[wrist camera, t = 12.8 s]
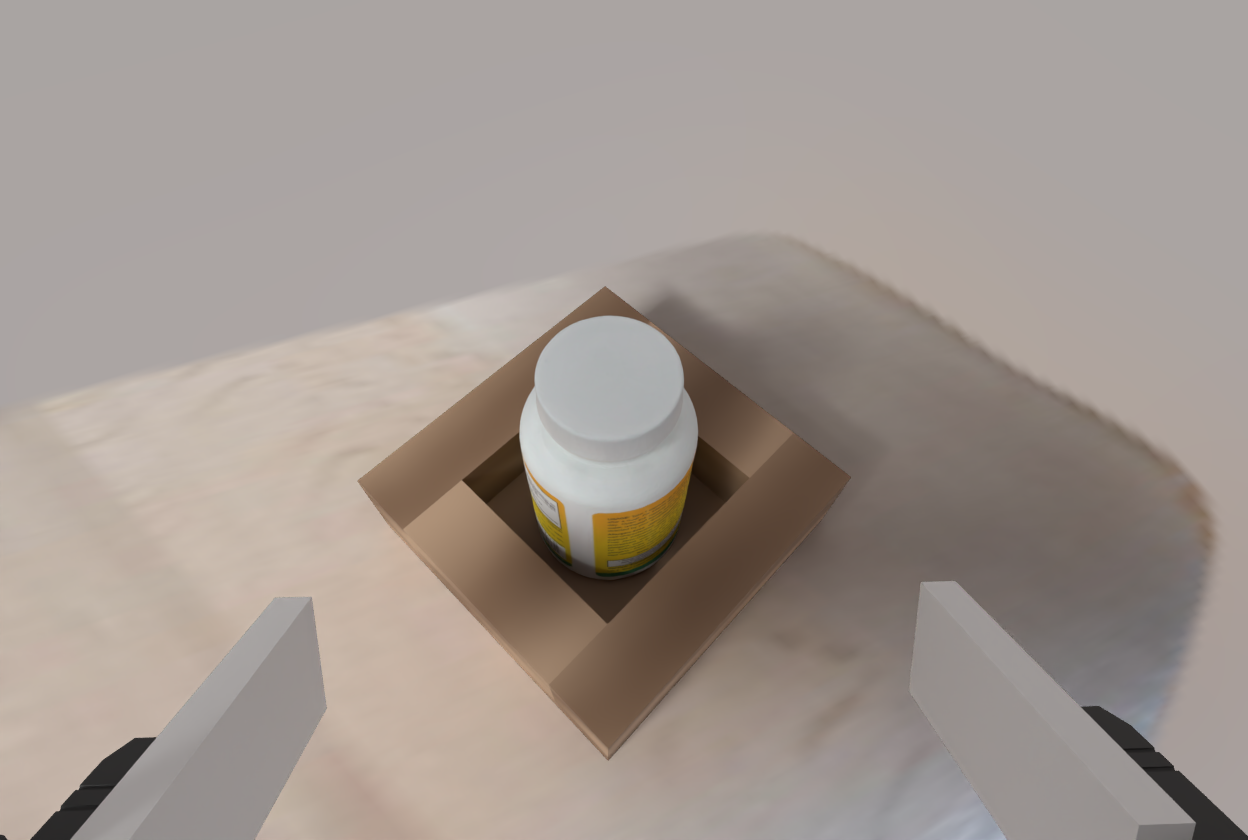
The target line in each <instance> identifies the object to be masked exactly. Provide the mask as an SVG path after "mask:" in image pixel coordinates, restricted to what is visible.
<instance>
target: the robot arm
mask: <svg viewBox="0 0 1248 840" xmlns="http://www.w3.org/2000/svg"><path fill="white" fill-rule="evenodd" d="M909 692H910V694H911V695H912V697H913V698H914V700H915V701H916V703H917V704H918V706H919V707H920V709H921V710H922V712H923V713H924V715H925V716H926V718H927V719H928V721H929V722H930V724H931V725H932V727H933V728H934V730H935V731H936V733H937V734H938V736H939V737H940V739H941V740H942V742H943V744H944V745H945V747H946V748H947V750H948V751H949V753H950V754H951V756H952V757H953V759H954V760H955V762H956V763H957V765H958V766H959V768H960V769H961V771H962V772H963V774H964V775H965V777H966V778H967V780H968V781H969V783H970V784H971V786H972V787H973V789H974V790H975V792H976V793H977V795H978V796H979V798H980V799H981V801H982V802H983V804H984V805H985V807H986V808H987V810H988V811H989V813H990V814H991V816H992V817H993V819H994V820H995V822H996V823H997V825H998V826H999V828H1000V829H1001V831H1002V832H1003V834H1004V835H1005V837H1006V838H1007V840H1248V836H1247V835H1246V834H1245V833H1244V832H1243V831H1242V830H1241V829H1240V828H1239V827H1238V826H1236V825H1235V824H1234V823H1233V822H1232V821H1231V820H1230V819H1229V818H1228V817H1227V816H1226V815H1225V814H1224V813H1223V812H1222V811H1221V810H1220V809H1218V807H1216V806H1215V805H1214V804H1213V803H1212V802H1211V801H1210V800H1209V799H1208V798H1207V797H1206V796H1205V795H1204V794H1203V793H1202V792H1201V791H1200V790H1198V789H1197V788H1196V787H1195V786H1194V785H1193V784H1192V783H1191V782H1190V781H1189V780H1188V779H1187V778H1186V777H1185V776H1184V775H1183V774H1182V773H1180V772H1179V771H1175V770H1174V766H1173V765H1172V764H1171V763H1170V762H1169V761H1168V760H1167V759H1166V758H1165V757H1164V756H1163V755H1162V754H1160V753H1159V752H1155V750H1154V747H1153V746H1152V745H1151V744H1150V743H1149V742H1148V741H1147V740H1146V739H1145V738H1144V737H1142V736H1141V735H1140V734H1139V733H1138V732H1137V731H1136V730H1135V729H1134V728H1133V727H1132V726H1131V725H1129V724H1128V723H1126V722H1124V721H1123V720H1121V719H1119V718H1118V717H1116V716H1114V715H1113V714H1111V713H1109V712H1108V711H1106V710H1104V709H1103V708H1101V707H1099V706H1089V707H1080V706H1079V705H1078V704H1077V703H1076V702H1075V701H1074V700H1073V699H1072V698H1071V697H1070V696H1069V695H1068V694H1067V693H1066V692H1065V691H1064V690H1063V689H1062V688H1061V687H1060V686H1059V685H1058V684H1057V683H1056V682H1055V681H1054V680H1053V679H1052V678H1051V677H1050V676H1049V675H1048V674H1047V673H1046V672H1045V671H1044V670H1043V669H1042V668H1041V667H1040V666H1039V665H1038V664H1037V663H1036V662H1035V661H1034V660H1033V659H1032V658H1031V657H1030V656H1029V655H1028V654H1027V652H1026V651H1025V650H1024V649H1023V648H1022V647H1021V646H1020V645H1019V644H1018V643H1017V642H1016V641H1015V640H1014V639H1013V638H1012V637H1011V636H1010V635H1009V634H1008V633H1007V632H1006V631H1005V630H1004V629H1003V628H1002V627H1001V626H1000V625H999V624H998V623H997V622H996V621H995V620H994V619H993V618H992V617H991V616H990V615H989V614H988V613H987V612H986V611H985V610H984V609H983V608H982V607H981V606H980V605H979V604H978V603H977V602H976V601H975V600H974V599H973V598H972V597H971V596H970V595H969V594H968V593H967V592H966V591H965V590H964V589H963V588H962V587H961V586H960V585H959V584H958V583H957V582H956V581H931V582H921V585H920V594H919V603H918V612H917V621H916V629H915V638H914V647H913V656H912V665H911V674H910V683H909ZM326 709H327V707H326V699H325V692H324V685H323V677H322V670H321V662H320V655H319V647H318V640H317V633H316V625H315V618H314V610H313V603H312V597H283V598H274V600H273V601H272V602H271V603H270V604H269V605H268V607H267V608H266V609H265V610H264V611H263V613H262V614H261V615H260V616H259V617H258V618H257V620H256V621H255V622H254V623H253V624H252V626H251V627H250V628H249V629H248V630H247V631H246V633H245V634H244V635H243V636H242V637H241V639H240V640H239V641H238V642H237V643H236V644H235V646H234V647H233V648H232V649H231V650H230V652H229V653H228V654H227V655H226V656H225V657H224V659H223V660H222V661H221V662H220V663H219V665H218V666H217V667H216V668H215V669H214V670H213V672H212V673H211V674H210V675H209V676H208V678H207V679H206V680H205V681H204V682H203V683H202V685H201V686H200V687H199V688H198V689H197V691H196V692H195V693H194V694H193V695H192V696H191V698H190V699H189V700H188V701H187V702H186V704H185V705H184V706H183V707H182V708H181V709H180V711H179V712H178V713H177V714H176V715H175V717H174V718H173V719H172V720H171V721H170V722H169V724H168V725H167V726H166V727H165V728H164V730H163V731H162V732H161V733H160V734H159V735H158V737H153V738H134V739H133V740H131V741H130V742H128V743H127V744H126V745H124V746H123V747H121V748H120V749H118V750H117V751H115V752H114V753H112V754H111V755H110V756H108V757H107V758H105V759H104V760H102V762H101V763H100V764H99V765H98V766H97V767H96V768H95V769H94V770H93V771H92V773H91V774H90V775H89V776H88V777H87V778H86V779H85V780H84V781H83V782H82V784H81V785H80V788H79V790H75V791H74V792H73V793H72V794H71V796H70V797H69V798H68V799H67V800H66V801H65V802H64V803H63V804H62V805H61V809H60V811H57V812H55V813H54V814H53V815H52V816H51V818H50V819H49V820H48V821H47V822H46V823H45V824H44V825H43V826H42V827H41V829H40V830H39V831H38V832H37V833H36V834H35V835H34V836H33V837H32V838H31V840H255V838H256V836H257V834H258V832H259V831H260V829H261V827H262V825H263V823H264V822H265V820H266V818H267V816H268V814H269V812H270V811H271V809H272V807H273V805H274V803H275V801H276V800H277V798H278V796H279V794H280V792H281V791H282V789H283V787H284V785H285V783H286V781H287V780H288V778H289V776H290V774H291V772H292V771H293V769H294V767H295V765H296V763H297V761H298V760H299V758H300V756H301V754H302V752H303V751H304V749H305V747H306V745H307V743H308V741H309V740H310V738H311V736H312V734H313V732H314V730H315V729H316V727H317V725H318V723H319V721H320V720H321V718H322V716H323V714H324V712H325V710H326ZM0 840H7V839H6V837H5V836H4V835H0Z"/></svg>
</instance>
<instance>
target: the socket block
mask: <svg viewBox="0 0 1248 840" xmlns="http://www.w3.org/2000/svg"><path fill="white" fill-rule="evenodd" d="M598 316H622V317H628V318H631V319H635V320H638V321H641V322H643V323H646V324H648V325H649V326H651V327H653V328H654V329H656V330H658V331H659V332H660V333H661V334H663V335H664V336H665V337H666V338H667V339H668V340H669V341H670V343H671V344H672V345H673V346H674V348H675V350H676V352H677V353H678V355H679V357H680V360H681V364H682V367H683V374H684V389H685V390H686V392H687V393H688V395H689V397H690V399H691V401H692V403H693V406H694V409H695V413H696V417H697V424H698V440H697V448H696V453H695V457H694V461H693V465H692V470H691V475H690V480H689V484H688V489H687V494H686V499H685V503H684V508H683V512H682V516H681V520H680V525H679V529H678V532H677V534H676V537H675V539H674V541H673V543H672V545H671V546H670V548H669V550H668V551H667V552H666V553H665V555H664V556H663V557H662V558H661V559H660V560H659V561H657V562H656V563H655V564H654V565H652V566H651V567H649V568H647V569H646V570H644V571H642V572H640V573H637V574H634V575H631V576H629V577H625V578H620V579H616V580H602V579H594V578H589V577H586V576H583V575H580V574H578V573H576V572H574V571H572V570H570V569H569V568H567V567H566V566H564V565H563V564H562V563H560V562H559V561H558V560H557V559H556V558H555V557H554V556H553V554H552V553H551V552H550V551H549V549H548V548H547V546H546V544H545V542H544V541H543V538H542V536H541V533H540V530H539V527H538V524H537V519H536V514H535V510H534V505H533V500H532V496H531V491H530V487H529V483H528V479H527V475H526V470H525V466H524V461H523V457H522V451H521V445H520V437H519V436H520V420H521V415H522V411H523V408H524V405H525V403H526V401H527V398H528V396H529V395H530V393H531V391H532V390H533V388H534V387H535V381H534V380H535V369H536V365H537V362H538V359H539V357H540V355H541V353H542V351H543V349H544V348H545V346H546V345H547V344H548V343H549V342H550V340H551V339H552V338H553V337H554V336H555V335H557V334H558V333H559V332H560V331H561V330H563V329H565V328H566V327H568V326H569V325H571V324H573V323H576V322H578V321H581V320H585V319H589V318H593V317H598ZM850 478H851V477H850V476H849V475H848V474H846V473H845V472H844V471H842V470H841V469H840V468H839V467H837V466H836V465H835V464H833V463H832V462H831V461H830V460H828V459H827V458H826V457H824V456H823V455H822V454H821V453H819V452H818V451H817V450H815V449H814V448H813V447H812V446H810V445H809V444H808V443H806V442H805V441H804V440H803V439H801V438H800V437H799V436H797V435H796V434H795V433H794V432H792V431H791V430H790V429H788V428H787V427H786V426H785V425H783V424H782V423H781V422H779V421H778V420H777V419H775V418H774V417H773V416H772V415H770V414H769V413H768V412H766V411H765V410H764V409H763V408H761V407H760V406H759V405H757V404H756V403H755V402H754V401H752V400H751V399H750V398H748V397H747V396H746V395H745V394H743V393H742V392H741V391H739V390H738V389H737V388H736V387H734V386H733V385H732V384H730V383H729V382H728V381H727V380H725V379H724V378H723V377H721V376H720V375H719V374H718V373H716V372H715V371H714V370H712V369H711V368H710V367H708V366H707V365H706V364H705V363H703V362H702V361H701V360H699V359H698V358H697V357H696V356H694V355H693V354H692V353H690V352H689V351H688V350H687V349H685V348H684V347H683V346H681V345H680V344H679V343H678V342H676V341H675V340H674V339H672V338H671V337H670V336H669V335H667V334H666V333H665V332H663V331H662V330H661V329H660V328H658V327H657V326H656V325H654V324H653V323H652V322H651V321H649V320H648V319H647V318H645V317H644V316H643V315H641V314H640V313H639V312H638V311H636V310H635V309H634V308H632V307H631V306H630V305H629V304H627V303H626V302H625V301H623V300H622V299H621V298H620V297H618V296H617V295H616V294H614V293H613V292H612V291H611V290H609V289H608V288H607V287H604V288H602V289H601V290H600V291H599V292H597V293H596V294H595V295H593V296H592V297H591V298H590V299H588V300H587V301H586V302H584V303H583V304H582V305H581V306H579V307H578V308H577V309H576V310H574V311H573V312H572V313H570V314H569V315H568V316H567V317H565V318H564V319H563V320H562V321H560V322H559V323H558V324H556V325H555V326H554V327H553V328H551V329H550V330H549V331H548V332H546V333H545V334H544V335H542V336H541V337H540V338H539V339H537V340H536V341H535V342H534V343H532V344H531V345H530V346H528V347H527V348H526V349H525V350H523V351H522V352H521V353H520V354H518V355H517V356H516V357H514V358H513V359H512V360H511V361H509V362H508V363H507V364H506V365H504V366H503V367H502V368H500V369H499V370H498V371H497V372H495V373H494V374H493V375H492V376H490V377H489V378H488V379H486V380H485V381H484V382H483V383H481V384H480V385H479V386H478V387H476V388H475V389H474V390H472V391H471V392H470V393H469V394H467V395H466V396H465V397H464V398H462V399H461V400H460V401H458V402H457V403H456V404H455V405H453V406H452V407H451V408H449V409H448V410H447V411H446V412H444V413H443V414H442V415H441V416H439V417H438V418H437V419H435V420H434V421H433V422H432V423H430V424H429V425H428V426H427V427H425V428H424V429H423V430H421V431H420V432H419V433H418V434H416V435H415V436H414V437H413V438H411V439H410V440H409V441H407V442H406V443H405V444H404V445H402V446H401V447H400V448H399V449H397V450H396V451H395V452H393V453H392V454H391V455H390V456H388V457H387V458H386V459H385V460H383V461H382V462H381V463H379V464H378V465H377V466H376V467H374V468H373V469H372V470H371V471H369V472H368V473H367V474H365V475H364V476H363V477H362V478H360V479H359V480H358V483H359V484H360V485H361V487H362V488H363V490H364V491H365V493H366V494H367V495H368V497H369V498H370V500H371V501H372V502H373V504H374V505H375V507H376V508H377V509H378V511H379V512H380V514H381V515H382V516H383V518H384V519H385V521H386V522H387V524H388V525H389V526H390V527H391V528H392V529H393V530H394V531H395V532H396V533H397V534H398V535H399V537H400V538H401V539H402V540H403V541H404V542H405V543H406V544H407V545H408V546H409V547H410V548H411V549H412V550H413V552H414V553H415V554H416V555H417V556H418V557H419V558H420V559H421V560H422V561H423V562H424V563H425V564H426V566H427V567H428V568H429V569H430V570H431V571H432V572H433V573H434V574H435V575H436V576H437V577H438V578H439V579H440V581H441V582H442V583H443V584H444V585H445V586H446V587H447V588H448V589H449V590H450V591H451V592H452V593H453V594H454V596H455V597H456V598H457V599H458V600H459V601H460V602H461V603H462V604H463V605H464V606H465V607H466V608H467V610H468V611H469V612H470V613H471V614H472V615H473V616H474V617H475V618H476V619H477V620H478V621H479V622H480V623H481V625H482V626H483V627H484V628H485V629H486V630H487V631H488V632H489V633H490V634H491V635H492V636H493V637H494V639H495V640H496V641H497V642H498V643H499V644H500V645H501V646H502V647H503V648H504V649H505V650H506V651H507V652H508V654H509V655H510V656H511V657H512V658H513V659H514V660H515V661H516V662H517V663H518V664H519V665H520V666H521V668H522V669H523V670H524V671H525V672H526V673H527V674H528V675H529V676H530V677H531V678H532V679H533V680H534V681H535V683H536V684H537V685H538V686H539V687H540V688H541V689H542V690H543V691H544V692H545V693H546V694H547V695H548V696H549V698H550V699H551V700H552V701H553V702H554V703H555V704H556V705H557V706H558V707H559V708H560V709H561V710H562V712H563V713H564V714H565V715H566V716H567V717H568V718H569V719H570V720H571V721H572V722H573V723H574V724H575V725H576V727H577V728H578V729H579V730H580V731H581V732H582V733H583V734H584V735H585V736H586V737H587V738H588V739H589V741H590V742H591V743H592V744H593V745H594V746H595V747H596V748H597V749H598V750H599V751H600V752H601V753H602V754H603V756H604V757H605V758H606V759H607V760H609V759H610V758H611V757H612V755H613V754H614V753H615V752H616V751H617V750H618V749H619V748H620V746H621V745H622V744H623V743H624V742H625V741H626V740H627V739H628V737H629V736H630V735H631V734H632V733H633V732H634V731H635V730H636V728H637V727H638V726H639V725H640V724H641V723H642V722H643V721H644V719H645V718H646V717H647V716H648V715H649V714H650V713H651V712H652V710H653V709H654V708H655V707H656V706H657V705H658V704H659V703H660V701H661V700H662V699H663V698H664V697H665V696H666V695H667V694H668V692H669V691H670V690H671V689H672V688H673V687H674V686H675V684H676V683H677V682H678V681H679V680H680V679H681V678H682V677H683V675H684V674H685V673H686V672H687V671H688V670H689V669H690V668H691V666H692V665H693V664H694V663H695V662H696V661H697V660H698V659H699V657H700V656H701V655H702V654H703V653H704V652H705V651H706V650H707V648H708V647H709V646H710V645H711V644H712V643H713V642H714V641H715V639H716V638H717V637H718V636H719V635H720V634H721V633H722V632H723V630H724V629H725V628H726V627H727V626H728V625H729V624H730V623H731V621H732V620H733V619H734V618H735V617H736V616H737V615H738V613H739V612H740V611H741V610H742V609H743V608H744V607H745V606H746V604H747V603H748V602H749V601H750V600H751V599H752V598H753V597H754V595H755V594H756V593H757V592H758V591H759V590H760V589H761V588H762V586H763V585H764V584H765V583H766V582H767V581H768V580H769V579H770V577H771V576H772V575H773V574H774V573H775V572H776V571H777V570H778V568H779V567H780V566H781V565H782V564H783V563H784V562H785V561H786V559H787V558H788V557H789V556H790V555H791V554H792V553H793V552H794V550H795V549H796V548H797V547H798V546H799V545H800V544H801V542H802V541H803V540H804V539H805V538H806V537H807V536H808V535H809V533H810V532H811V531H812V530H813V529H814V528H815V527H816V526H817V524H818V523H819V522H820V521H821V520H822V518H823V517H824V516H825V514H826V513H827V511H828V510H829V508H830V507H831V505H832V504H833V503H834V501H835V500H836V498H837V497H838V495H839V494H840V492H841V491H842V490H843V488H844V487H845V485H846V484H847V482H848V481H849V479H850Z"/></svg>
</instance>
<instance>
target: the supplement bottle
mask: <svg viewBox="0 0 1248 840" xmlns="http://www.w3.org/2000/svg"><path fill="white" fill-rule="evenodd" d="M534 381H535V387H534V388H533V390H532V391H531V393H530V395H529V396H528V398H527V401H526V403H525V405H524V408H523V411H522V415H521V420H520V436H519V437H520V445H521V451H522V457H523V461H524V466H525V470H526V475H527V479H528V483H529V487H530V491H531V496H532V500H533V505H534V510H535V514H536V519H537V524H538V527H539V530H540V533H541V536H542V538H543V541H544V542H545V544H546V546H547V548H548V549H549V551H550V552H551V553H552V554H553V556H554V557H555V558H556V559H557V560H558V561H559V562H560V563H562V564H563V565H564V566H566V567H567V568H569V569H570V570H572V571H574V572H576V573H578V574H580V575H583V576H586V577H589V578H594V579H602V580H616V579H620V578H625V577H629V576H631V575H634V574H637V573H640V572H642V571H644V570H646V569H647V568H649V567H651V566H652V565H654V564H655V563H656V562H657V561H659V560H660V559H661V558H662V557H663V556H664V555H665V553H666V552H667V551H668V550H669V548H670V546H671V545H672V543H673V541H674V539H675V537H676V534H677V532H678V529H679V525H680V520H681V516H682V512H683V508H684V503H685V499H686V494H687V489H688V484H689V480H690V475H691V470H692V465H693V461H694V457H695V453H696V448H697V440H698V424H697V417H696V413H695V409H694V406H693V403H692V401H691V399H690V397H689V395H688V393H687V392H686V390H685V389H684V374H683V367H682V364H681V360H680V357H679V355H678V353H677V352H676V350H675V348H674V346H673V345H672V344H671V343H670V341H669V340H668V339H667V338H666V337H665V336H664V335H663V334H661V333H660V332H659V331H658V330H656V329H654V328H653V327H651V326H649V325H648V324H646V323H643V322H641V321H638V320H635V319H631V318H628V317H622V316H598V317H593V318H589V319H585V320H581V321H578V322H576V323H573V324H571V325H569V326H568V327H566V328H565V329H563V330H561V331H560V332H559V333H558V334H557V335H555V336H554V337H553V338H552V339H551V340H550V342H549V343H548V344H547V345H546V346H545V348H544V349H543V351H542V353H541V355H540V357H539V359H538V362H537V365H536V369H535V380H534Z"/></svg>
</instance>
